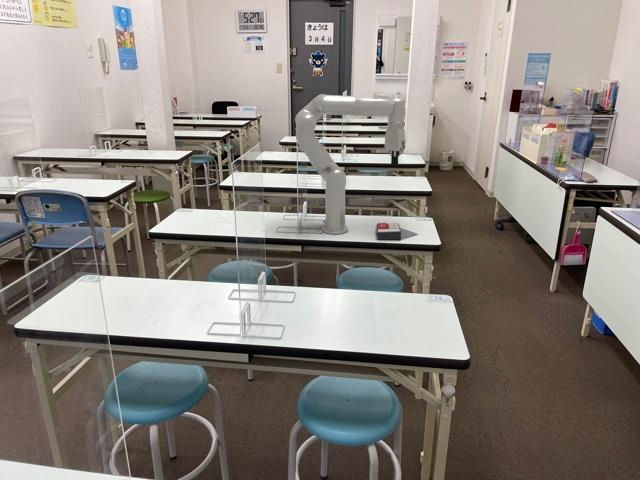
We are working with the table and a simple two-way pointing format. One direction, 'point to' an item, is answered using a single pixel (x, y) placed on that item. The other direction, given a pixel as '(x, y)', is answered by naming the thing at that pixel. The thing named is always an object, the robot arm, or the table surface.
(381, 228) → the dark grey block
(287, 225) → the table surface
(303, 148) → the robot arm
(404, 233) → the mat
